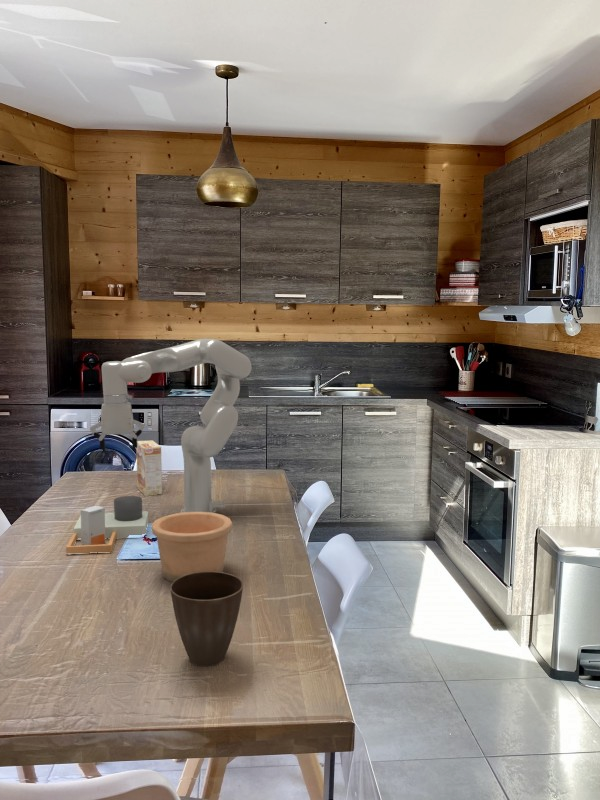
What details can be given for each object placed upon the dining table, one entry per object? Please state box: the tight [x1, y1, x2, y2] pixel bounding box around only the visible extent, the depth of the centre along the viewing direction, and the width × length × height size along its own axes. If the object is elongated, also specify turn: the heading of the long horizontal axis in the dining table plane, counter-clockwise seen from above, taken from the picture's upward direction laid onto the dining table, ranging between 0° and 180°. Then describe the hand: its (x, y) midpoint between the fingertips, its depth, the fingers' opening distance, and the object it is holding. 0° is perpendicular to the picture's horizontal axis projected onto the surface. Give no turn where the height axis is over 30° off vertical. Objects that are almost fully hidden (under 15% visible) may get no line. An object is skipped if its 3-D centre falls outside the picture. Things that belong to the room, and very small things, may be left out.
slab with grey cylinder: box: [65, 495, 149, 554], centre depth 219 cm, size 22×29×10 cm
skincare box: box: [80, 505, 106, 545], centre depth 211 cm, size 6×4×12 cm
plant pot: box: [169, 571, 244, 667], centre depth 143 cm, size 15×15×16 cm
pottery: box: [151, 512, 233, 583], centre depth 190 cm, size 22×22×14 cm
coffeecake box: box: [135, 439, 163, 497], centre depth 275 cm, size 15×7×20 cm, turn 25°
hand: (119, 450), depth 226 cm, fingers open, 9 cm apart
